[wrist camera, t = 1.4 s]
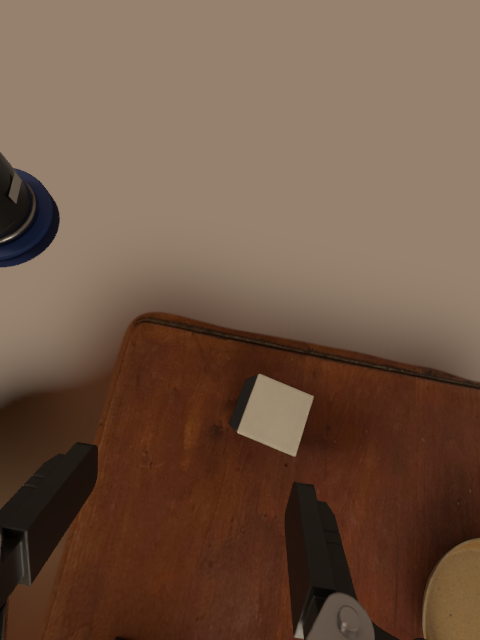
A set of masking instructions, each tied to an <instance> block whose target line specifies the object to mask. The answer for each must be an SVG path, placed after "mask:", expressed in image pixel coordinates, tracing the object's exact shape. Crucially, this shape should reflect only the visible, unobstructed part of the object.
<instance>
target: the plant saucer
mask: <svg viewBox="0 0 480 640" xmlns="http://www.w3.org/2000/svg"><path fill="white" fill-rule="evenodd" d="M422 629H423V637H424V639H427V640H480V538H476V539H471V540H468V541H465V542H462V543H460V544H458V545H456V546H454V547H453V548H451V549H450V550H449V551H447V552H446V553H445V554H444V555H443V556H442V557H441V558H440V559H439V560H438V562H437V563H436V564H435V566H434V568H433V569H432V571H431V573H430V575H429V578H428V580H427V583H426V587H425V591H424V596H423V603H422Z"/></svg>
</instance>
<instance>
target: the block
mask: <svg viewBox="0 0 480 640" xmlns="http://www.w3.org/2000/svg"><path fill="white" fill-rule="evenodd" d="M313 398H314V396H312V395H309V394H307V393H305V392H302V391H300V390H297V389H295V388H293V387H290V386H288V385H285V384H283V383H281V382H278V381H276V380H273V379H271V378H269V377H266V376H264V375H261V374H258V375H255V376H253V377H251V378H248V379H246V380H245V383H244V385H243V388H242V391H241V393H240V396H239V398H238V401H237V404H236V406H235V409H234V411H233V414H232V417H231V419H230V422H229V424H230V425H231V427H232V428H233V429H234V430H235V431H236V432H237V433H239V434H241V435H243V436H246V437H248V438H251V439H253V440H256V441H258V442H260V443H263V444H265V445H268V446H270V447H272V448H275V449H277V450H280V451H282V452H285V453H287V454H289V455H292V456H294V457H295V456H296V453H297V450H298V446H299V443H300V440H301V437H302V433H303V430H304V427H305V424H306V420H307V417H308V414H309V411H310V407H311V404H312V401H313Z"/></svg>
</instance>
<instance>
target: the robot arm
mask: <svg viewBox="0 0 480 640" xmlns="http://www.w3.org/2000/svg"><path fill="white" fill-rule="evenodd" d="M38 211H39V204H38V199H37V197H36V195H35V193H34V191H33V190H32V189H31V187H30V186H29V185H28V184H27V183H26V182H25V181H24V180H23V179H22V178H21V177H20V176H19V174H18V173H17V172H16V171H15V170H14V168H13V167H12V166H11V164H10V163H9V162H8V161H7V160H6V158H5V157H4V156H3V155H2V154H1V153H0V247H1V246H4V245H8V244H10V243H12V242H14V241H16V240H18V239H20V238H21V237H22V236H24V235H25V234H26V233H27V232H28V231H29V230H30V229H31V228H32V226H33V225H34V223H35V221H36V219H37V216H38ZM97 468H98V448H97V446H96V445H91V444H86V443H80V442H77V443H76V444H74V445H73V446H72V448H71V449H70V450H69V451H68V452H67V453H66V454H65V455H63V454H58V455H56V456H54V457H53V458H51V459H50V460H48V461H46V462H45V463H44V464H43V465H42V466H41V467H40V468H39V469H38V470H37V471H36V472H35V473H34V475H33V477H31V478H30V479H29V480H28V481H27V482H26V483H25V485H24V486H22V487H21V488H20V489H19V490H18V492H17V493H16V494H15V495H14V496H13V497H12V498H11V499H10V500H9V501H8V502H7V503H6V504H5V505H4V507H2V508H1V510H0V640H6V637H7V621H8V604H9V596H10V594H11V593H12V592H13V590H14V589H15V587H16V586H17V584H23V585H28V586H31V584H32V583H33V581H34V580H35V578H36V577H37V575H38V574H39V572H40V570H41V569H42V567H43V566H44V564H45V563H46V561H47V560H48V558H49V557H50V555H51V554H52V552H53V550H54V549H55V547H56V546H57V544H58V543H59V541H60V540H61V538H62V537H63V535H64V533H65V532H66V531H67V529H68V528H69V526H70V524H71V523H72V521H73V520H74V518H75V517H76V515H77V514H78V512H79V511H80V509H81V508H82V506H83V504H84V503H85V501H86V500H87V498H88V497H89V495H90V494H91V492H92V490H93V488H94V486H95V483H96V480H97ZM338 531H339V530H338V526H337V523H336V519H335V515H334V514H333V512H332V511H331V509H330V508H329V506H328V505H327V503H326V502H321V501H317V498H316V493H315V488H314V486H313V485H312V484H306V483H300V482H294V483H293V485H292V489H291V493H290V497H289V500H288V504H287V508H286V513H285V537H286V549H287V561H288V573H289V585H290V597H291V610H292V622H293V634H294V637H295V638H301V639H304V640H399V639H397V638H396V637H394V636H392V635H390V634H389V633H387V632H385V631H384V630H382V629H381V628H379V627H378V626H377V625H376V624H374V623H373V622H372V621H371V619H370V617H369V616H368V614H367V612H366V611H365V609H364V608H363V607H362V605H361V604H360V603H359V602H358V600H357V597H356V594H355V591H354V587H353V583H352V579H351V576H350V572H349V568H348V564H347V560H346V557H345V553H344V549H343V546H342V542H341V538H340V534H339V533H338ZM414 640H427V639H423V638H417V639H414Z"/></svg>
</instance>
